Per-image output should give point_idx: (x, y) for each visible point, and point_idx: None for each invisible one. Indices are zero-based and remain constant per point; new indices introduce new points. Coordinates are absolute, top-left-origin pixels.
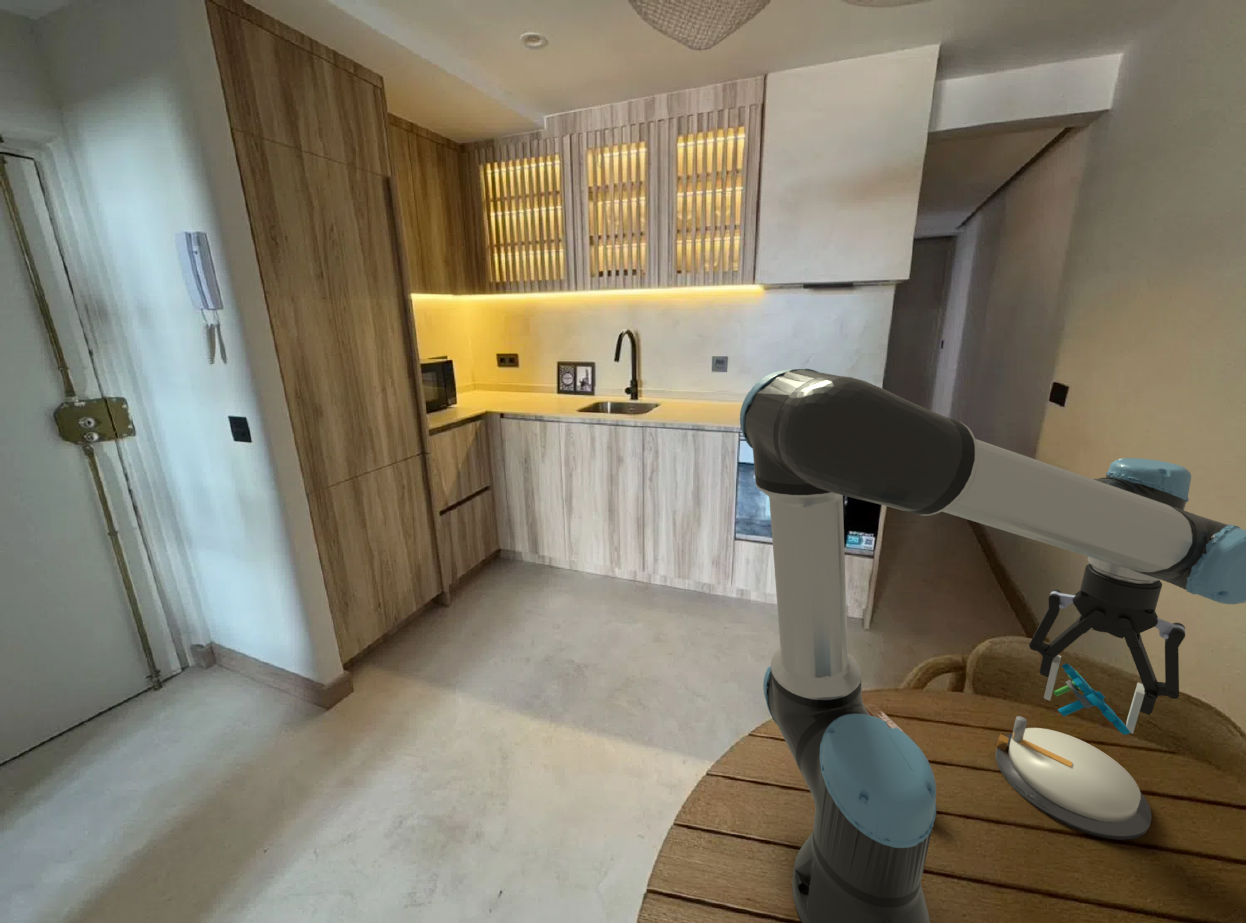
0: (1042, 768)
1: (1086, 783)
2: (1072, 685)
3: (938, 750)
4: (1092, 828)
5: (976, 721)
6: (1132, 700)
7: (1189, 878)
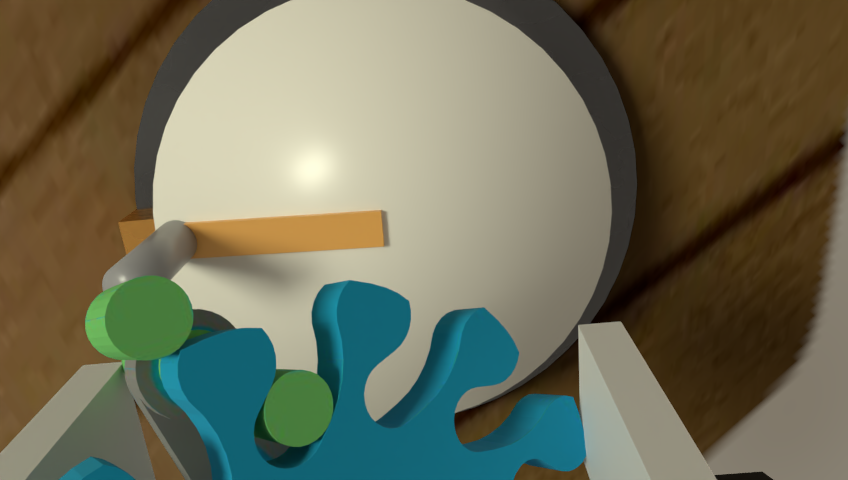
0: (310, 341)
1: (447, 294)
2: (185, 418)
3: (34, 402)
4: (494, 398)
5: (15, 105)
6: (636, 461)
7: (719, 335)
